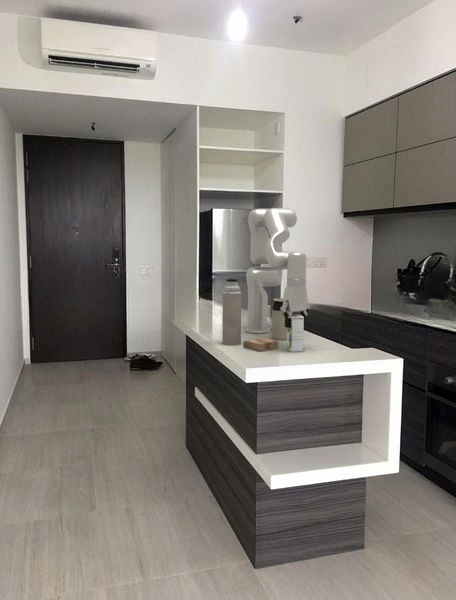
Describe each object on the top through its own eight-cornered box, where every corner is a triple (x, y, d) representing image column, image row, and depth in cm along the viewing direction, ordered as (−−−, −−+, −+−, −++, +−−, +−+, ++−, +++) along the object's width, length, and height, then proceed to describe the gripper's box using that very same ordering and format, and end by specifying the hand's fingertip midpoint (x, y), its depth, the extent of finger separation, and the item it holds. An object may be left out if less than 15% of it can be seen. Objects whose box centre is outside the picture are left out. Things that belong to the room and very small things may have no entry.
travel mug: (293, 339, 242) (293, 299, 239) (279, 340, 237) (279, 300, 235) (282, 336, 248) (283, 298, 246) (268, 337, 244) (269, 298, 242)
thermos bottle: (226, 341, 236) (226, 278, 233) (243, 342, 233) (243, 278, 230) (219, 344, 228) (220, 279, 225) (237, 345, 226) (238, 279, 223)
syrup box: (286, 349, 220) (286, 314, 218) (300, 348, 220) (301, 314, 219) (289, 352, 214) (289, 316, 212) (303, 351, 215) (304, 316, 213)
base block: (261, 344, 228) (261, 337, 228) (277, 348, 221) (277, 341, 220) (243, 347, 222) (243, 340, 222) (259, 351, 214) (259, 344, 214)
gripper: (304, 281, 222) (303, 323, 224) (274, 283, 211) (273, 327, 213) (317, 282, 217) (316, 325, 219) (287, 285, 206) (287, 330, 208)
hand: (295, 326), depth 216 cm, fingers closed on syrup box, 7 cm apart
